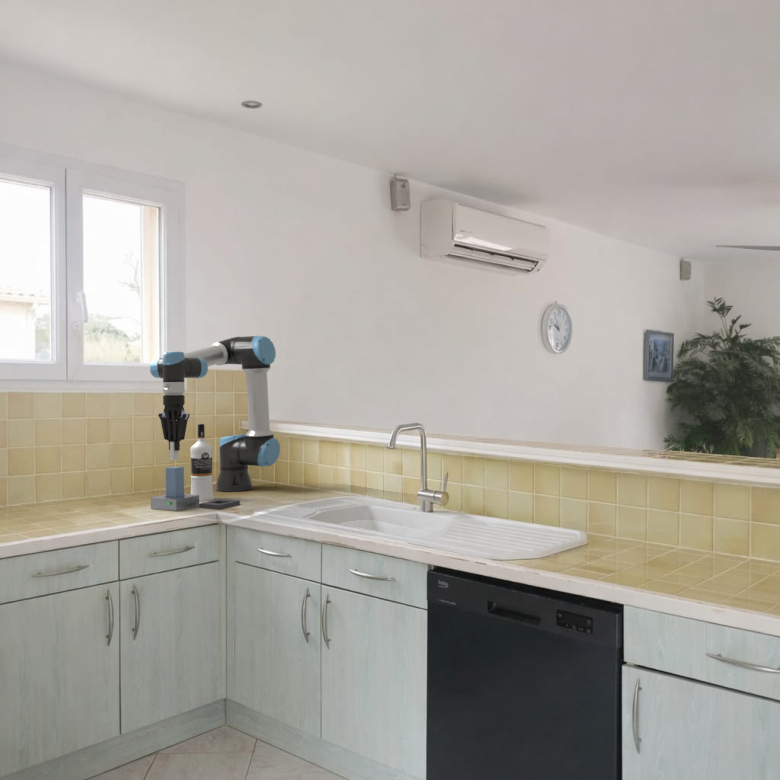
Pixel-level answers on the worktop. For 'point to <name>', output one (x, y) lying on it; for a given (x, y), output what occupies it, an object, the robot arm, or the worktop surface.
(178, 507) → the block
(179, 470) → the plug
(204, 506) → the dark grey flat frame
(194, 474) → the vodka
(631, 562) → the worktop surface
